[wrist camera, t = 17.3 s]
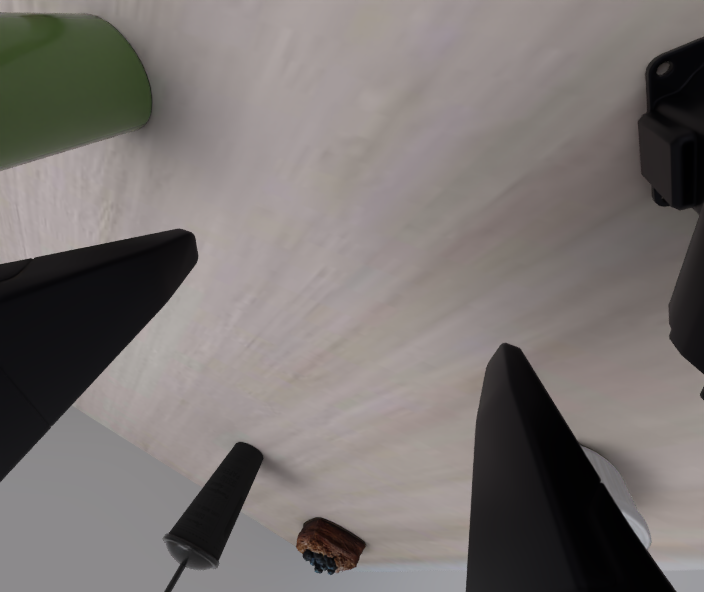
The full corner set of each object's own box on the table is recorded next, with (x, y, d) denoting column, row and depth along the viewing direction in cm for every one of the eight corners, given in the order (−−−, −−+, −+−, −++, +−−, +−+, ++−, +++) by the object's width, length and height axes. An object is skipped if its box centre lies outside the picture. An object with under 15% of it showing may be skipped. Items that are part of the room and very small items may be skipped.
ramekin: (601, 420, 26) (618, 490, 22) (652, 499, 30) (675, 572, 26) (466, 437, 33) (462, 493, 29) (521, 500, 36) (523, 558, 33)
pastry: (372, 543, 60) (361, 584, 55) (346, 553, 68) (336, 589, 63) (316, 513, 59) (302, 551, 55) (298, 526, 68) (284, 561, 63)
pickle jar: (93, -18, 19) (-287, -52, 10) (172, 106, 22) (-63, 168, 13) (45, 48, 23) (-270, 67, 13) (120, 148, 26) (-96, 220, 16)
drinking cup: (239, 431, 49) (127, 607, 35) (280, 461, 51) (190, 641, 36) (220, 442, 54) (114, 600, 39) (258, 469, 56) (171, 630, 41)
